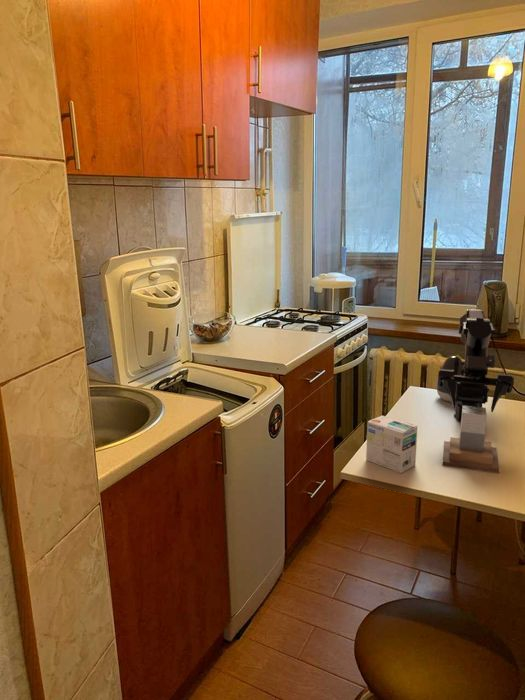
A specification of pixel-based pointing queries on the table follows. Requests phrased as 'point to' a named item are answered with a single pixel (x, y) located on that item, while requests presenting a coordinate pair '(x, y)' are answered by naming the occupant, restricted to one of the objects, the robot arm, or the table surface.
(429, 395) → the table surface
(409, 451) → the light bulb box
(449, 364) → the pump dispenser
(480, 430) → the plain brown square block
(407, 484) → the table surface
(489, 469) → the walnut stand
